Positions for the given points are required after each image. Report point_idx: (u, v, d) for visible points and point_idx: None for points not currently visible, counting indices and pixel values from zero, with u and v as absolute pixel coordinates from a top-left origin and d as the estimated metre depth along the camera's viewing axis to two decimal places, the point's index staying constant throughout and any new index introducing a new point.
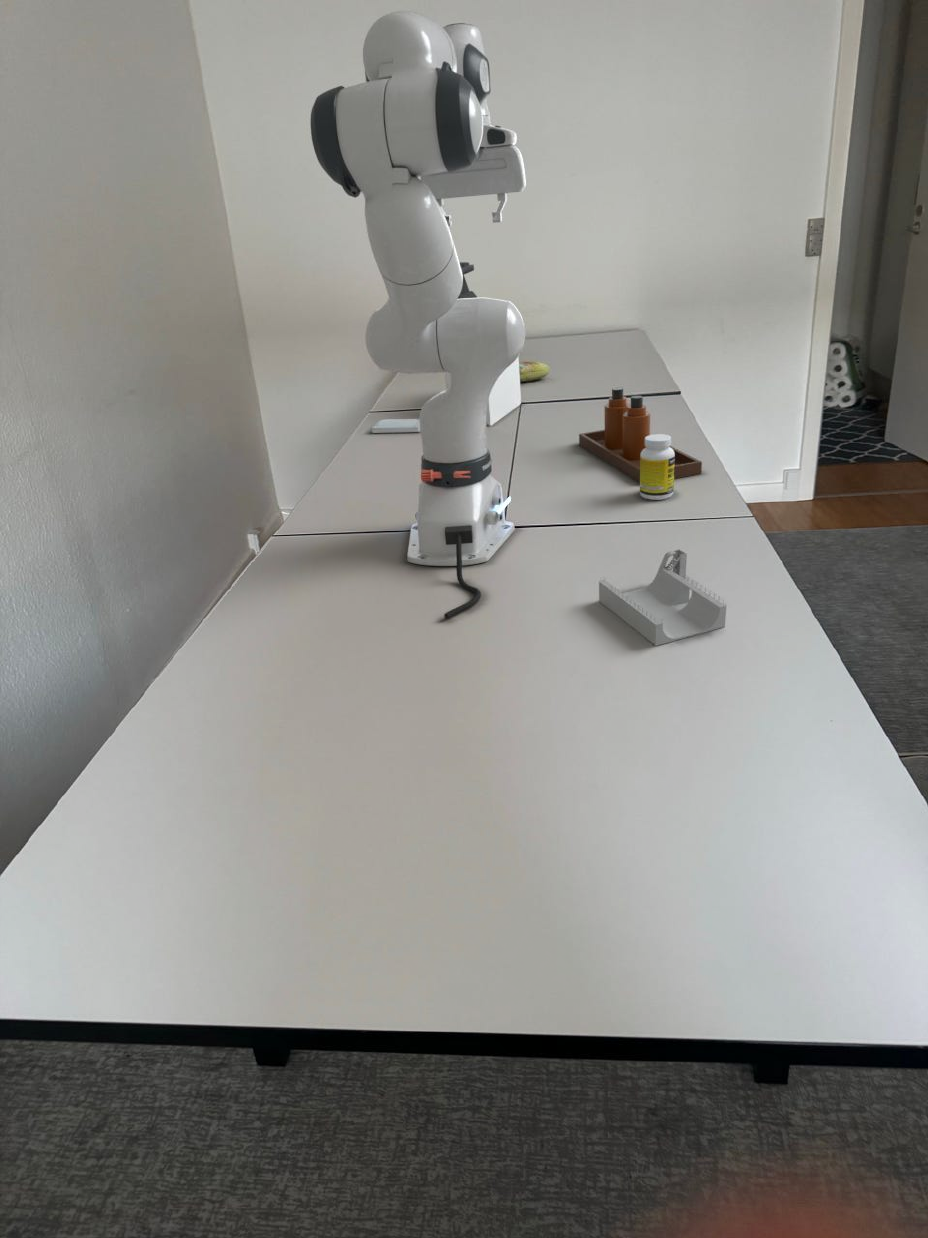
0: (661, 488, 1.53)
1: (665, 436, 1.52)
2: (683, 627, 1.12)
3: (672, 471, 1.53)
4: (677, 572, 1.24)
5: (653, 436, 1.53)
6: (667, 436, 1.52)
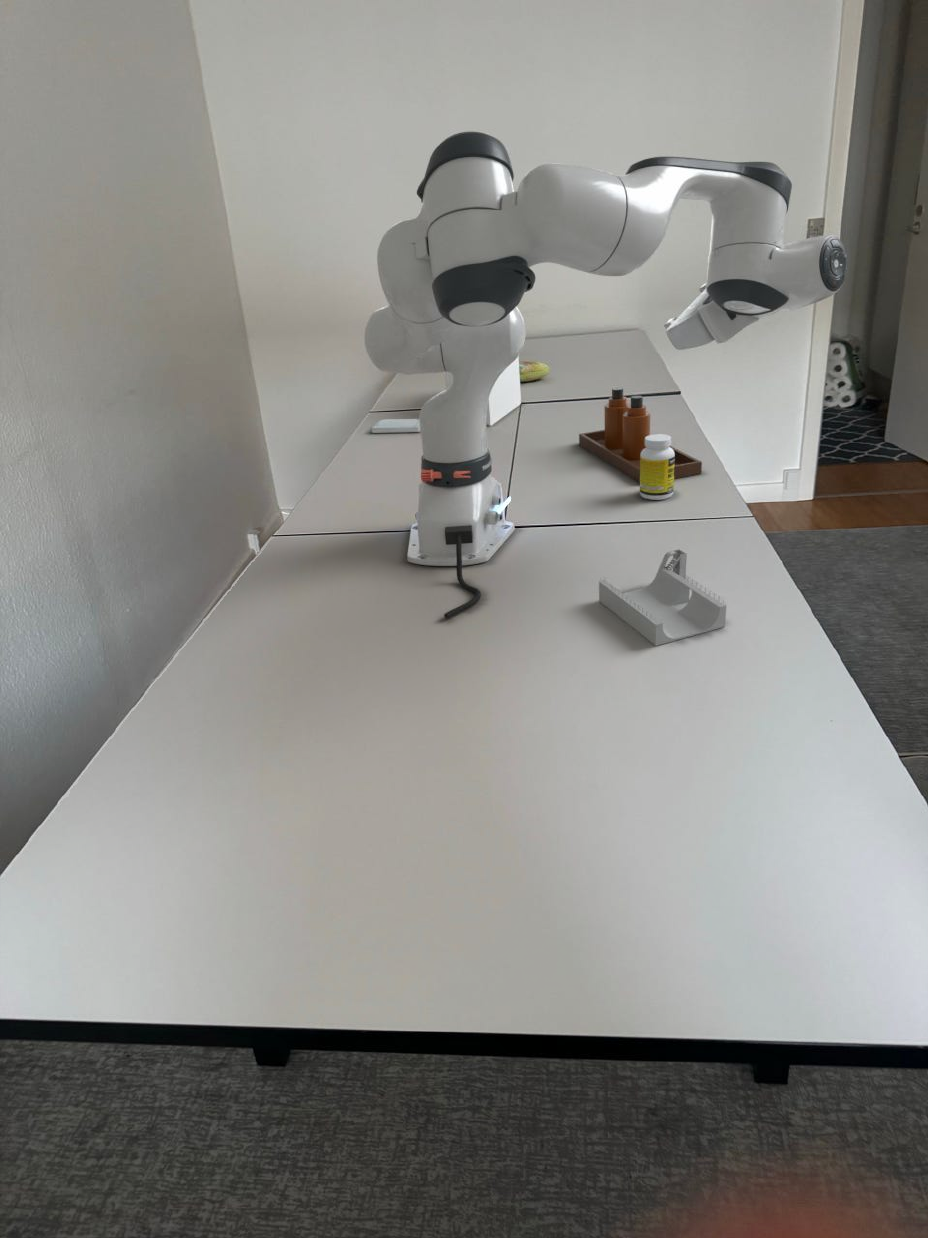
0: (661, 488, 1.53)
1: (665, 436, 1.52)
2: (683, 627, 1.12)
3: (672, 471, 1.53)
4: (677, 572, 1.24)
5: (653, 436, 1.53)
6: (667, 436, 1.52)
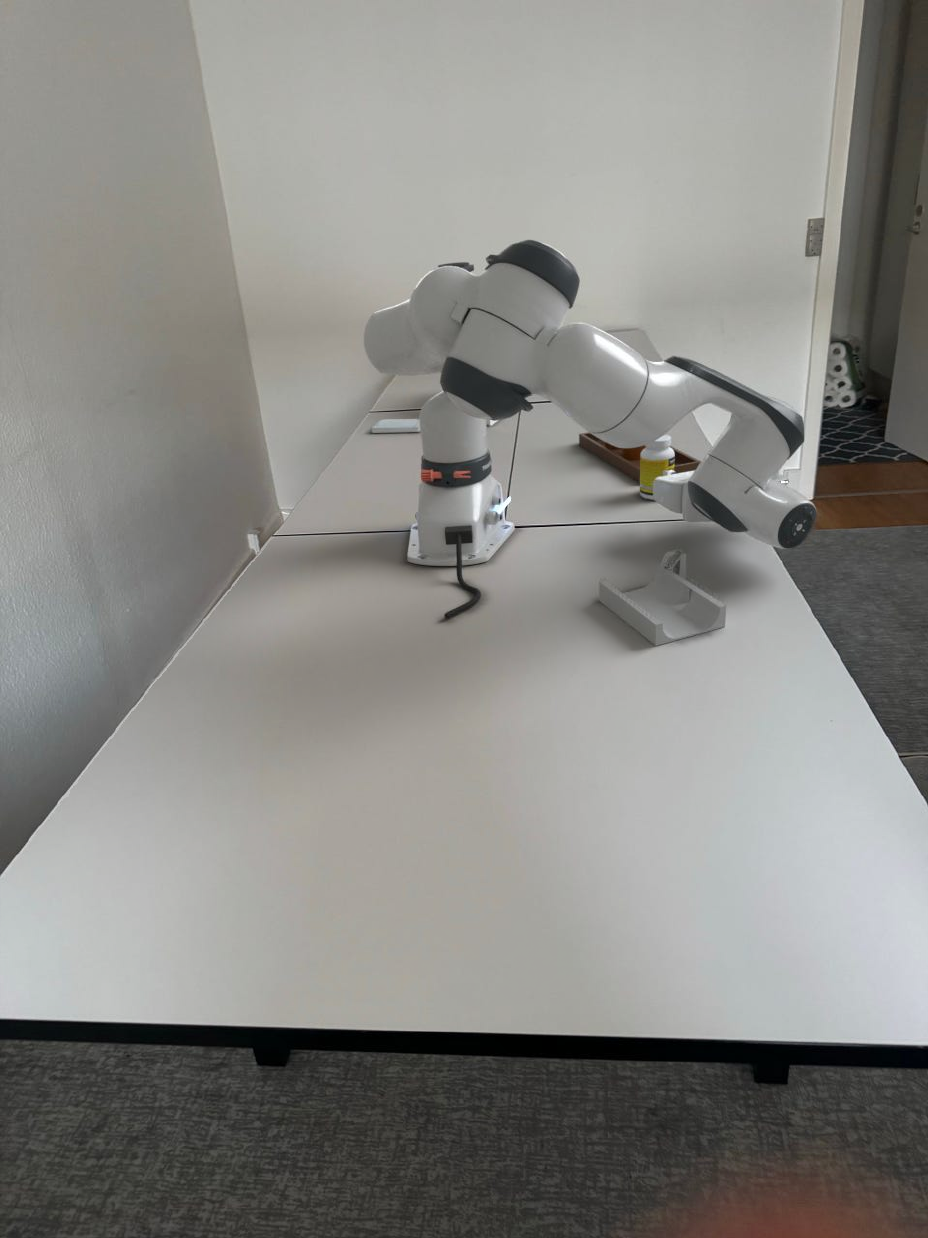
0: None
1: (665, 436, 1.52)
2: (683, 627, 1.12)
3: None
4: (677, 572, 1.24)
5: None
6: (667, 436, 1.52)
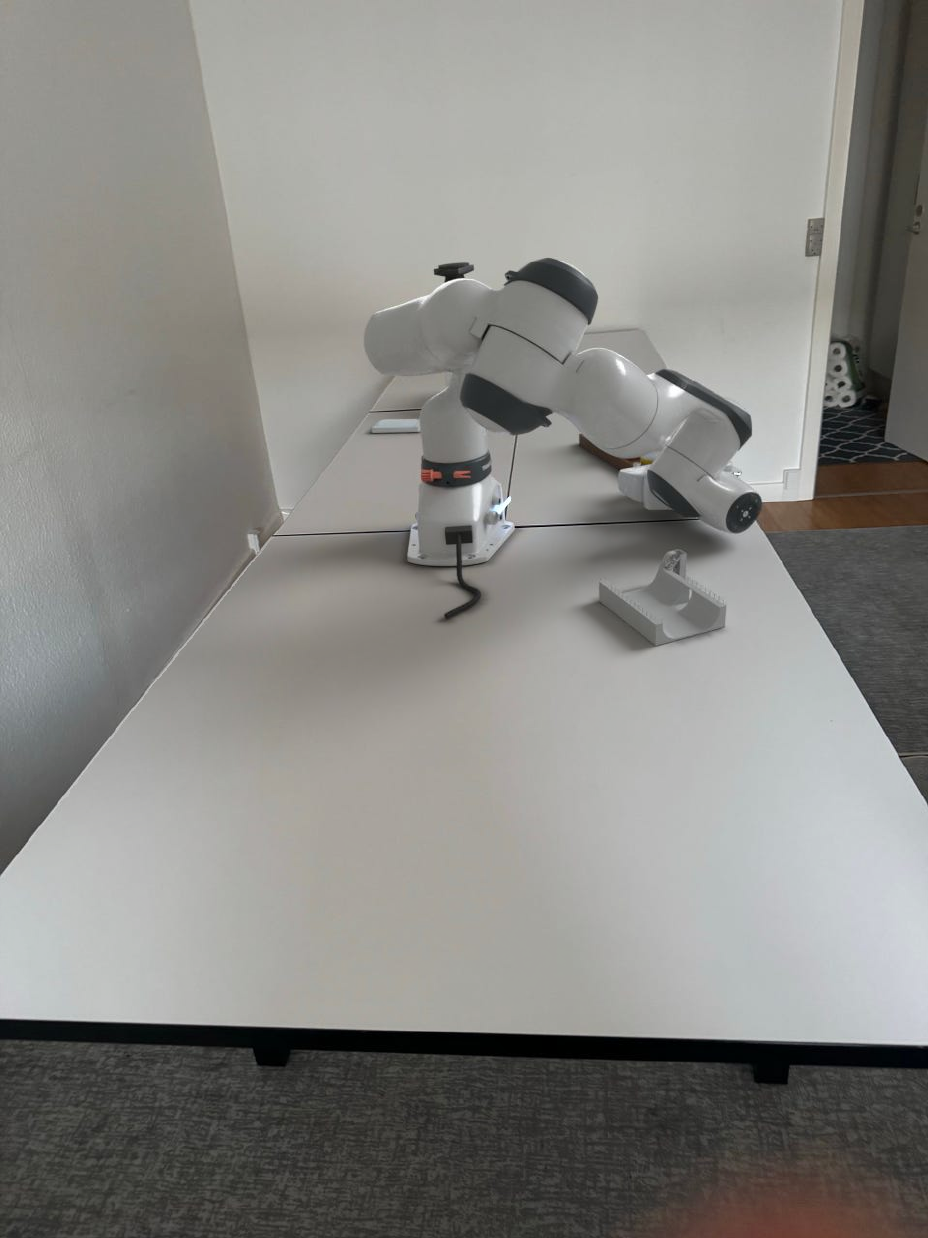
0: None
1: None
2: (683, 627, 1.12)
3: None
4: (677, 572, 1.24)
5: None
6: None
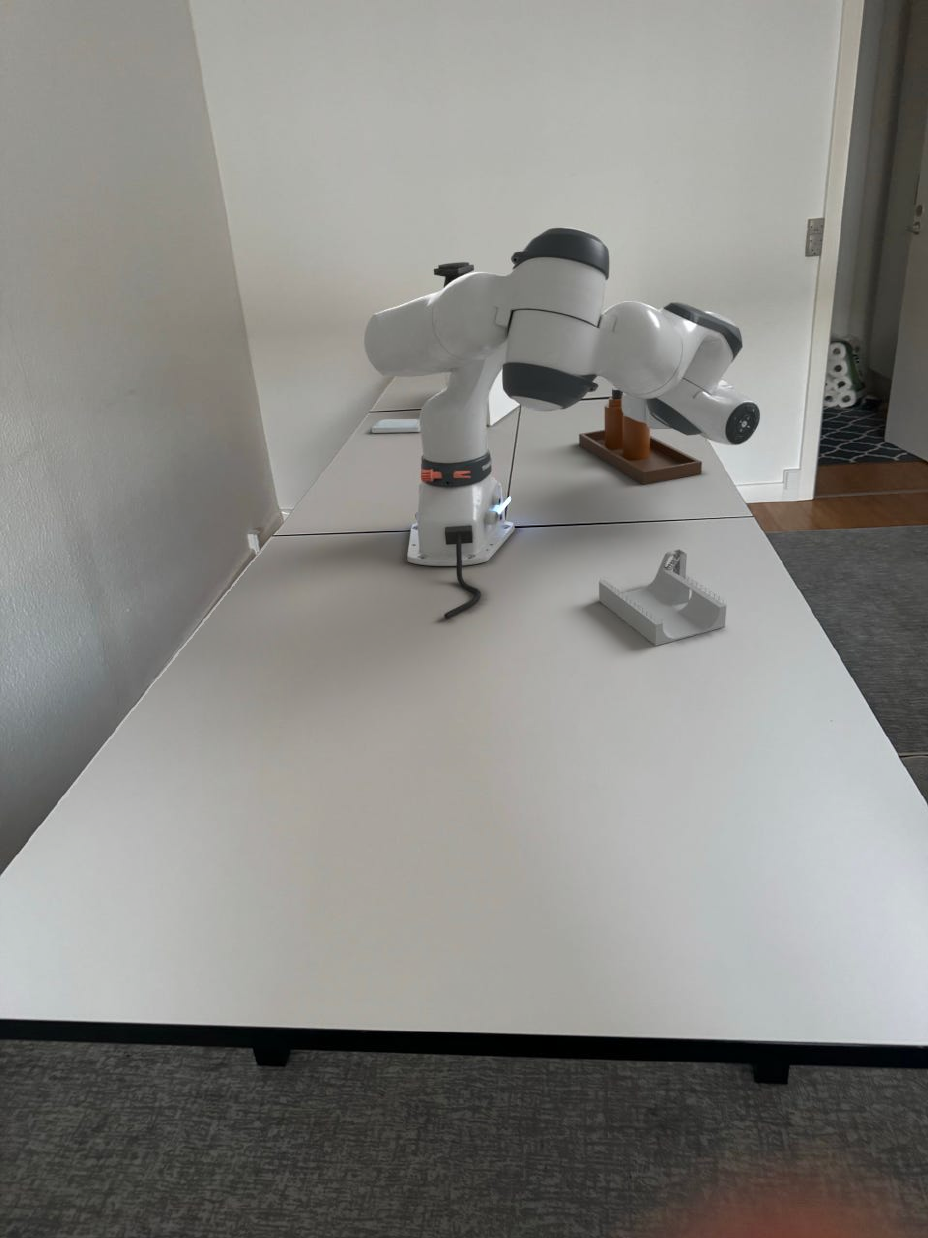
0: None
1: None
2: (683, 627, 1.12)
3: None
4: (677, 572, 1.24)
5: None
6: None
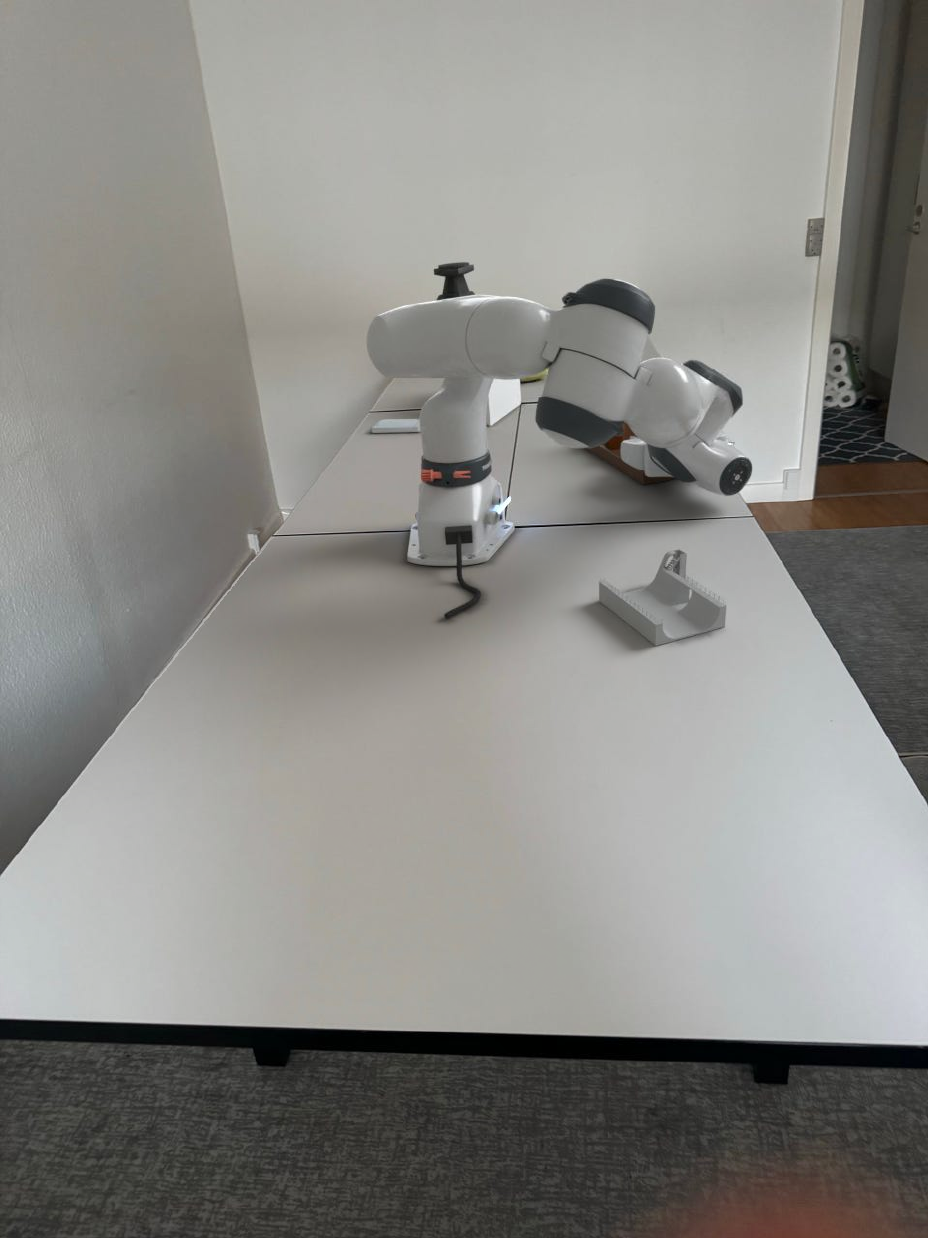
0: None
1: None
2: (683, 627, 1.12)
3: None
4: (677, 572, 1.24)
5: None
6: None
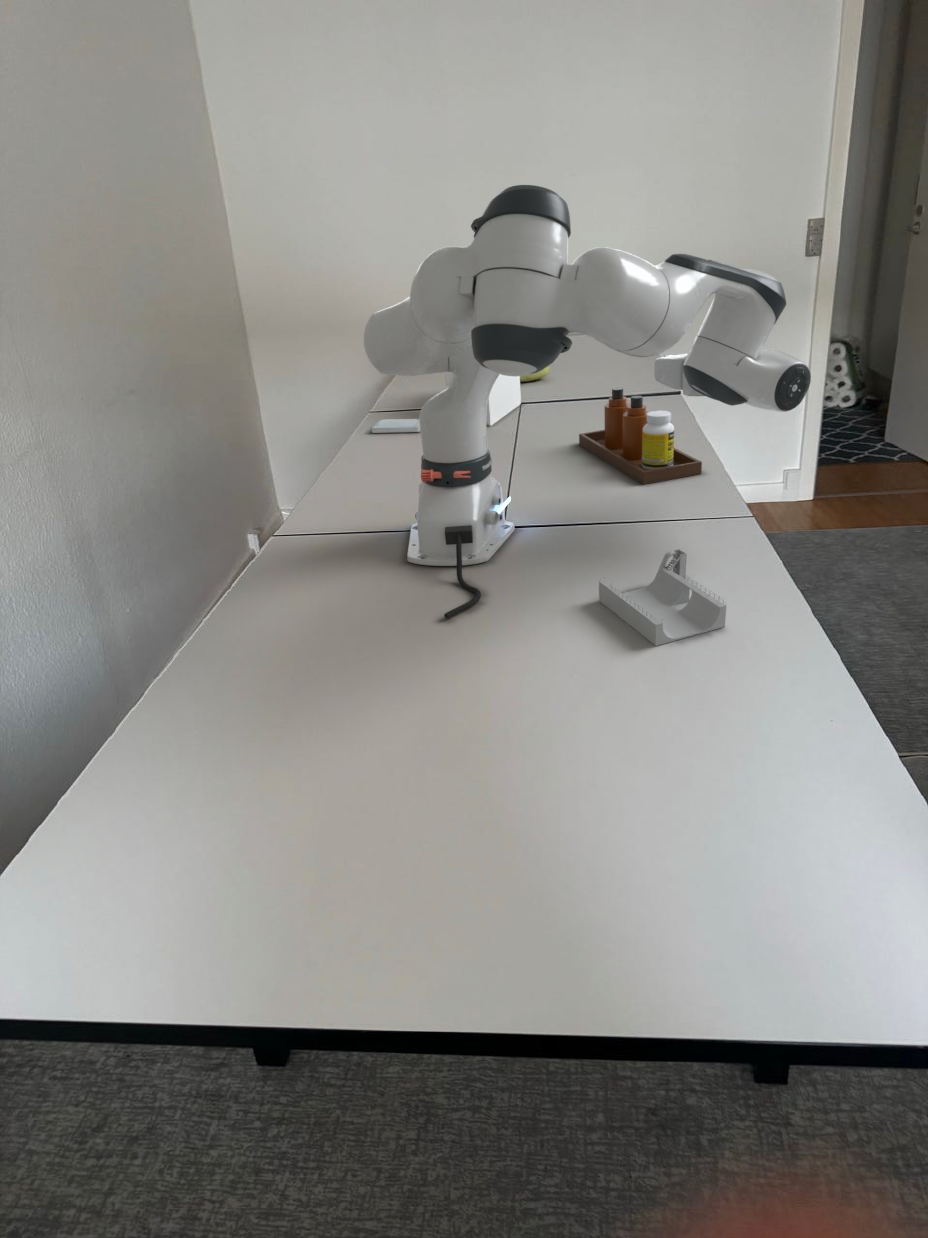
0: (661, 461, 1.66)
1: (665, 412, 1.65)
2: (683, 627, 1.12)
3: (672, 444, 1.66)
4: (677, 572, 1.24)
5: (654, 412, 1.65)
6: (667, 412, 1.65)
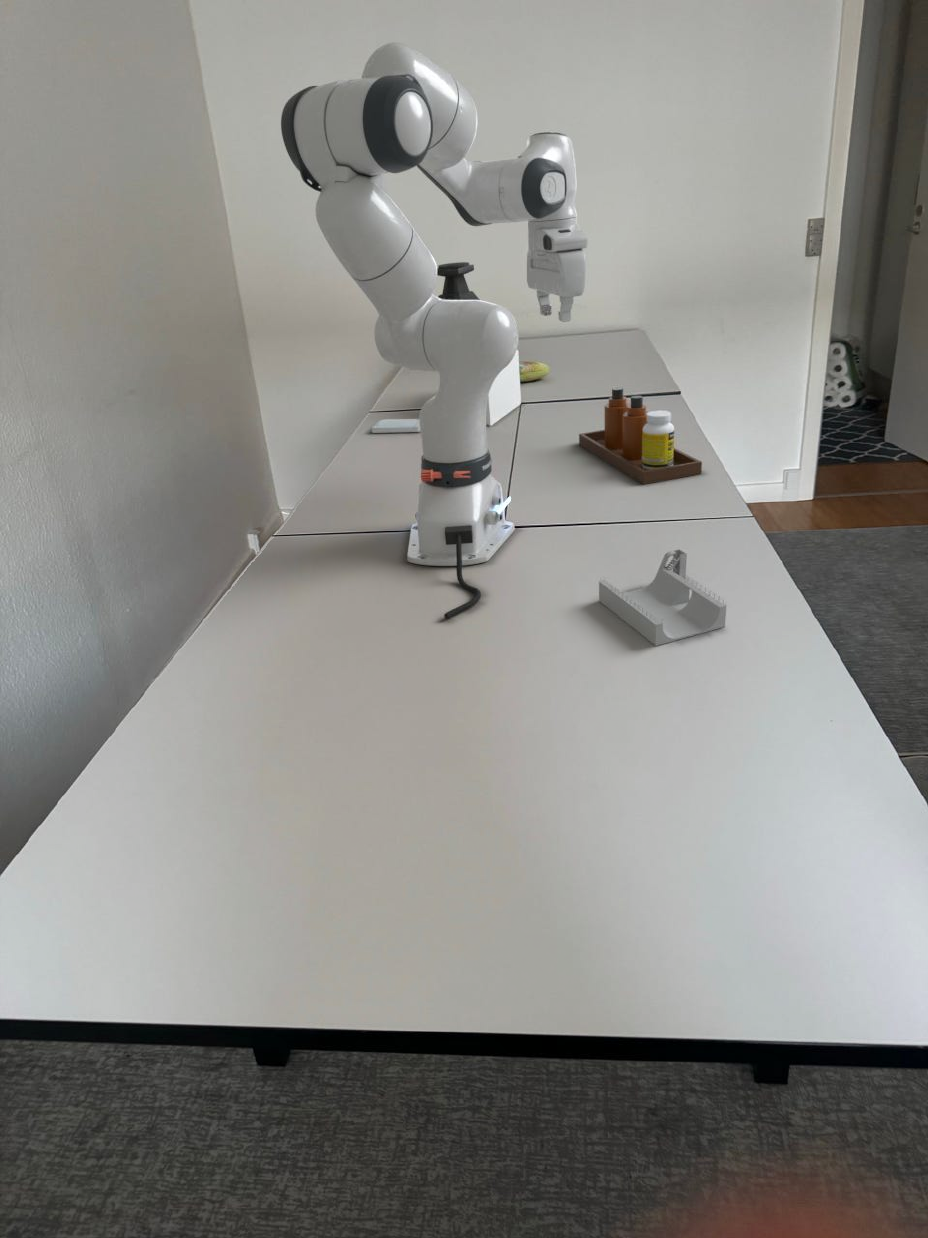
0: (661, 461, 1.66)
1: (665, 412, 1.65)
2: (683, 627, 1.12)
3: (672, 444, 1.66)
4: (677, 572, 1.24)
5: (654, 412, 1.65)
6: (667, 412, 1.65)
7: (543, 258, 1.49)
